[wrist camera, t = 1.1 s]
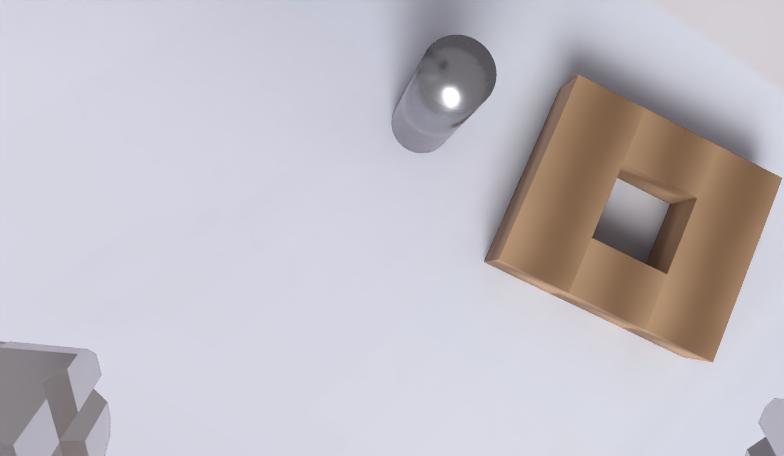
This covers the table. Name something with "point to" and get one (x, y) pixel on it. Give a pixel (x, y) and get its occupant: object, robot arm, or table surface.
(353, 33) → the table surface
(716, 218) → the hole plate
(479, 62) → the pin
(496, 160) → the table surface
